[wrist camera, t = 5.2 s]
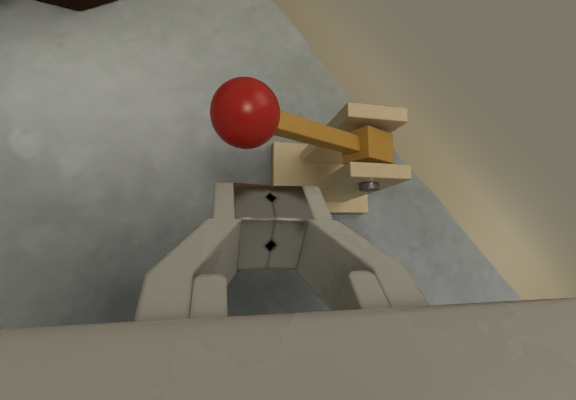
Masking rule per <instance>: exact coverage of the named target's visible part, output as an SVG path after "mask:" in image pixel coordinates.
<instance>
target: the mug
mask: <svg viewBox="0 0 576 400" xmlns="http://www.w3.org/2000/svg"><path fill="white" fill-rule="evenodd" d="M40 1H44V2H48V3H53V4H57V5H61V6H65V7H70V8H74V9H78V10H81V9H84V8H87V7H91V6H94V5H97V4H101V3H104V2H107V1H111V0H40Z"/></svg>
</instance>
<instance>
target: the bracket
mask: <svg viewBox="0 0 576 400" xmlns="http://www.w3.org/2000/svg"><path fill="white" fill-rule="evenodd" d="M407 122H408V115H407V108H399V107H389V106H379V105H369V104H360V103H350V102H348V103H347V104H346V105H345V106H344V107H343V108H342V109H341V110H340V111H339V112H338V114H337V115H336V116H335V117H334V118H333V119H332V120H331V121H330V122H329V123H328V124H327V126H330V127H333V128H336V129H339V130H342V131H345V132H351V131H354V130H356V129H359V128H362V127H364V126H367V125H369V126H372V127H374V128H377V129H380V130H383V131H385V132H388V133H391V132H393V131H394V130H396V129H397V128H399V127H400V126H402V125H404V124H405V123H407ZM410 179H411V166H410V165H401V164H383V163H366V162H349V163H347V164H346V165H344V164H342V152H338V151H335V150H331V149H327V148H323V147H319V146H315V145H311V144H301V143H287V142H273V144H272V146H271V186H318V187H319V189H320V191H321V193H322V195H323V198H324V200H325V202H326V205H327V207H328V209H329V211H330V213H331V214H365V213H368V195H367V194H369V193H372V192H375V191H378V190H381V189H384V188H387V187H390V186H393V185H396V184H399V183H402V182H405V181H408V180H410Z"/></svg>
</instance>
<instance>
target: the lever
mask: <svg viewBox="0 0 576 400" xmlns="http://www.w3.org/2000/svg"><path fill="white" fill-rule="evenodd" d="M210 117H211V122H212V125H213V128H214V129H215V131H216V133H217V134H218V135H219V137H220V138H221V139H222V140H223V141H225V142H226V143H228V144H229V145H231V146H234V147H236V148H241V149H252V148H256V147H259V146H261V145H263V144H265V143H266V142H267V141H269V140H270V139H271V138H272V137H273V135H276V136H280V137H284V138H288V139H292V140H296V141H300V142H304V143H307V144H311V145H315V146H319V147H323V148H327V149H331V150H335V151H338V152H342V164H344V165H346V164H347V163H349V162H366V163H383V164H393V163H394V156H393V139H392V134H391V133H388V132H385V131H383V130H380V129H377V128H374V127H372V126H369V125H367V126H364V127H362V128H359V129H356V130H354V131H351V132H345V131H342V130H339V129H336V128H333V127H330V126H327V125H324V124H320V123H317V122H314V121H311V120H308V119H305V118H302V117H299V116H296V115H292V114H289V113H286V112H283V111H280V107H279V103H278V100H277V98H276V96H275V94H274V93H273V91H272V90H271V89H270V88H269V87H268V86H267V85H266V84H264V83H263V82H261V81H259V80H257V79H255V78H251V77H237V78H233V79H231V80H229V81H227V82H225V83H224V84H223V85H221V86H220V87H219V89H218V90H217V91H216V92H215V94H214V96H213V98H212V101H211V106H210Z"/></svg>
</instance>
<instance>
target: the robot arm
mask: <svg viewBox="0 0 576 400" xmlns="http://www.w3.org/2000/svg"><path fill="white" fill-rule="evenodd" d="M260 269H296V271H297V272H298V273H299V275H300V276H301V277H302V278H303V279H304V280H305V281H306V282H307V284H308V285H309V286H310V287H311V288H312V289H313V290H314V291H315V293H316V294H317V295H318V296H319V297H320V298H321V299H322V300H323V302H324V303H325V304H326V305H327V306H328V307H329V308H330V309H331V311H317V312H299V313H280V314H262V315H243V316H227V286H228V285H229V283H230V282H231V280H232V278H233V277H234V275H235V274H236V272H237V271H239V270H260ZM0 400H576V298H559V299H541V300H522V301H504V302H485V303H467V304H449V305H429V304H428V302H427V300H426V299H425V297H424V295H423V294H422V292H421V290H420V289H419V287H418V285H417V284H416V282H415V280H414V279H413V277H412V275H411V274H410V272H409V270H408V269H407V268H406V267H405V266H403V265H402V264H400V263H399V262H397V261H396V260H394V259H393V258H392V257H390V256H389V255H387V254H386V253H384V252H383V251H381V250H380V249H379V248H377V247H376V246H374V245H373V244H371V243H370V242H369V241H367V240H366V239H364V238H363V237H361V236H360V235H358V234H357V233H356V232H354V231H353V230H351V229H350V228H348V227H347V226H345V225H344V224H343V223H341V222H340V221H338V220H333V218H332V216H331V214H330V211H329V209H328V207H327V205H326V202H325V200H324V198H323V195H322V193H321V191H320V189H319V187H318V186H270V185H260V184H244V183H227V182H214V192H213V218H212V219H206V220H205V221H204V222H203V223H202V224H200V225H199V226H198V227H197V228H196V229H195V230H194V231H193V232H192V233H190V234H189V235H188V236H187V237H186V238H185V239H184V240H183V241H181V242H180V243H179V244H178V245H177V246H176V247H175V248H174V249H173V250H171V251H170V252H169V253H168V254H167V255H166V256H165V257H164V258H163V259H161V260H160V261H159V262H158V263H157V264H156V265H155V266H154V267H153V268H151V269H150V270H149V271H148V272H147V273H146V274H145V277H144V281H143V285H142V289H141V293H140V297H139V301H138V305H137V309H136V313H135V317H134V321H132V322H114V323H95V324H77V325H58V326H40V327H21V328H2V329H0Z"/></svg>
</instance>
